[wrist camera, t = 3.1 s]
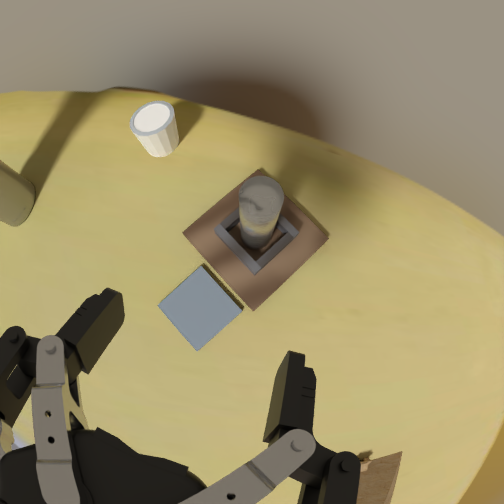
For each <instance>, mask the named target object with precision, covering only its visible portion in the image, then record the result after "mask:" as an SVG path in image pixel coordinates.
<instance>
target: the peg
mask: <svg viewBox="0 0 504 504" xmlns="http://www.w3.org/2000/svg"><path fill="white" fill-rule="evenodd" d="M283 201H284V193H283V190H282V188H281V186H280V185H279V183H278V182H277V181H275V180H274V179H272V178H270V177H267V176H255V177H252V178H250V179H248V180H246V181H245V182H244V183H243V184H242V186H241V188H240V190H239V212H240V230H241V239H242V242H243V244H244V245H245V246H246V247H248V248H249V249H252V250H260V249H263V248H265V247H266V246H267V245H268V244H269V242H270V240H271V237H272V234H273V231H274V228H275V225H276V222H277V219H278V216H279V213H280V210H281V207H282V205H283Z"/></svg>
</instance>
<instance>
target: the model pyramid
mask: <svg viewBox="0 0 504 504" xmlns="http://www.w3.org/2000/svg"><path fill="white" fill-rule="evenodd" d="M401 456H402V451H401V452H398V453H395V454H392V455H388V456H385V457H381V458H378V459H374V460H370V459H369V458H368V457H367V458H363V462H360V463H361V471H360V480H359V488H358V496H357V503H356V504H390V502H391V498H392V495H393V491H394V487H395V483H396V479H397V475H398V470H399V466H400V461H401Z"/></svg>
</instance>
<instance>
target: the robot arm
mask: <svg viewBox="0 0 504 504" xmlns="http://www.w3.org/2000/svg"><path fill="white" fill-rule="evenodd" d="M34 200H35V188H34V186H33V184H32V183H30V182H29V181H28V180H26V179H25V178H24V177H22V176H21V175H20V174H18V173H17V172H16V171H14V170H13V169H12V168H10V167H9V166H8V165H6V164H5V163H4V162H3V161H1V160H0V221H2V222H4V223H6V224H8V225H10V226H13V227H14V226H18V225H20V224H21V223H23V222H24V221H25V220H26V218H27V217H28V215H29V213H30V212H31V209H32V207H33V204H34ZM124 317H125V313H124V306H123V297H122V294H121V293H120V292H117V291H115V290H113V289H110V288H106V289H105V290H104V291H103V292H102V293H101V294H100V295H97V294H95V295H93V296H91V297H89V298H87V299H86V300H85V301H84V302H83V304H82V305H81V306H80V308H78V309H77V310H76V311H75V313H74V314H73V315H72V316H71V317H70V318H69V320H68V321H67V322H66V323H65V324H64V326H63V327H62V328H61V329H60V330H59V332H58V333H57V334H56V335H49V336H45V337H44V338H42V339H39V338H35V337H31V336H27V335H26V333H25V331H24V329H23V328H21V327H19V326H13V327H10V328H8V329H7V330H6V331H5V333H4V334H3V335H2V336H1V338H0V504H256V503H257V502H259V501H260V500H261V499H263V498H264V497H265V496H267V495H268V494H269V493H270V492H271V491H273V490H274V489H275V487H276V486H277V485H278V484H279V483H281V482H282V481H283V480H284V479H285V478H287V477H288V476H289V477H291V478H293V479H295V480H297V481H299V482H301V483H302V486H301V491H300V495H299V499H298V503H297V504H356V503H357V496H358V488H359V480H360V471H361V463H360V460H359V458H358V457H357V456H356V455H355V454H353V453H351V452H348V451H344V452H340V453H336V452H334V451H331V450H329V449H327V448H325V447H323V446H321V445H320V444H319V443H318V442H317V441H316V440H315V438H314V435H313V431H312V428H313V417H314V405H315V392H316V391H315V390H316V376H315V374H314V371H313V368H308V367H304V365H305V354H301V353H297V352H293V351H288V352H287V354H286V356H285V357H284V359H283V361H282V363H281V365H280V367H279V368H278V371H277V374H276V377H275V381H274V387H273V392H272V397H271V403H270V408H269V413H268V418H267V423H266V428H265V432H264V437H263V442H267V443H269V445H268V448H267V449H266V450H264V451H263V452H262V453H260V454H259V455H257V456H256V457H255V458H253V459H252V460H250V461H249V462H247V463H245V464H244V465H242V466H241V467H239V468H238V469H236V470H235V471H233V472H232V473H230V474H229V475H227V476H226V477H224V478H222V479H221V480H219V481H218V482H216V483H214V484H213V485H211V486H209V487H208V488H207V486H206V485H205V484H204V483H203V481H202V480H201V479H199V478H198V477H197V476H196V475H195V474H193V473H192V472H190V471H188V468H189V467H187V466H184V465H181V464H179V463H176V462H173V461H170V460H168V459H165V458H159V457H153V456H147V455H142V454H139V453H137V452H135V451H134V450H133V449H131V448H130V447H129V446H127V445H126V444H125V443H124V442H122V441H121V440H120V439H119V438H117V437H115V436H113V435H111V434H110V433H108V432H106V431H104V430H102V429H100V428H98V427H97V428H96V430H89V428H88V424H87V420H86V417H85V415H84V412H83V407H82V401H81V393H80V385H79V377H78V375H79V373H80V372H81V371H83V372H85V373H87V374H89V373H90V371H91V370H92V368H93V367H94V365H95V364H96V362H97V361H98V359H99V358H100V356H101V355H102V353H103V352H104V350H105V349H106V347H107V346H108V344H109V343H110V342H111V340H112V339H113V337H114V336H115V334H116V333H117V332H118V330H119V329H120V327H121V326H122V324H123V321H124ZM16 365H17V366H16ZM15 366H16V367H15ZM14 368H15V369H14ZM13 369H14V370H13ZM12 371H13V372H12ZM11 372H12V373H11ZM10 374H11V375H10ZM9 375H10V376H9ZM8 377H9V378H8ZM7 379H8V380H7ZM30 394H31V398H32V416H33V428H34V437H35V444H33V445H29V446H26V447H23V448H19V449H16V450H12V449H11V445H12V444H13V443H14V437H13V432H12V427H13V425H14V423H15V421H16V419H17V417H18V416H19V414H20V412H21V410H22V408H23V407H24V405H25V403H26V401H27V400H28V398H29V396H30Z"/></svg>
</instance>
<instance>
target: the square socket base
mask: <svg viewBox="0 0 504 504" xmlns="http://www.w3.org/2000/svg"><path fill="white" fill-rule="evenodd" d="M255 176H265V175H264V174H262V173H261V172H260V171H259V170H257V171H255V172H254V173H253V174H252V175H250V176H249V177H248V178H247V179H245V180H244V181H243V182H242V183H240V184H239V185H238V186H237V187H236V188H234V189H233V190H232V191H231V192H229V193H228V194H227V195H226V196H225V197H223V198H222V199H221V200H220V201H219V202H217V203H216V204H215V205H214V206H213V207H211V208H210V209H209V210H208V211H207V212H206V213H204V214H203V215H202V216H201V217H200V218H199V219H197V220H196V221H195V222H194V223H193V224H192V225H191V226H189V227H188V228H187V229H186V230H185V231H184V232H183V234H184V236H185V237H186V238H187V239H188V240H189V241H190V242H191V244H192V245H193V246H194V247H195V248H196V249H197V250H198V252H199V253H200V254H201V255H202V256H203V257H204V258H205V259H206V260H207V262H208V263H209V264H210V265H211V266H212V267H213V268H214V269H215V270H216V272H217V273H218V274H219V275H220V276H221V277H222V278H223V279H224V280H225V281H226V283H227V284H228V285H229V286H230V287H231V288H232V289H233V290H234V291H235V292H236V293H237V294H238V296H239V297H240V298H241V299H242V300H243V301H244V302H245V303H246V304H247V305H248V306H249V307H250V308H251V309H252V311H254V310H255V309H256V308H258V307H259V306H260V305H261V304H262V303H263V302H264V301H265V300H266V299H267V298H268V297H269V296H270V295H271V294H272V293H274V292H275V291H276V290H277V289H278V288H279V287H280V286H281V285H282V284H283V283H284V282H285V281H286V280H287V279H288V278H289V277H290V276H291V275H292V274H293V273H294V272H295V271H297V270H298V269H299V268H300V267H301V266H302V265H303V264H304V263H305V262H306V261H307V260H308V259H309V258H310V257H311V256H312V255H313V254H314V253H315V252H316V251H317V250H318V249H319V248H320V247H321V246H322V245H323V244H324V243H325V242H326V241H327V240H328V239H329V238H328V237H327V236H326V235H325V234H324V233H323V232H322V231H321V230H320V229H319V228H318V227H317V226H316V225H315V224H314V223H313V222H312V221H311V220H310V219H309V218H308V217H307V216H306V215H305V214H304V213H303V212H302V211H301V210H300V209H299V208H298V207H297V206H296V205H295V204H294V203H293V202H292V201H291V200H290V199H289V198H288V197H287V196H286V195H285V194H284V201H283V205H282V207H281V210H280V213H279V216H278V219H277V222H276V225H275V228H274V231H273V234H272V237H271V240H270V242H269V244H268V245H267V246H266V247H265V248H263V249H260V250H252V249H249V248H248V247H246V246H245V245H244V244H243V242H242V239H241V230H240V212H239V190H240V188H241V186H242V184H243V183H244V182H245V181H246V180H248V179H250V178H252V177H255Z"/></svg>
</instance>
